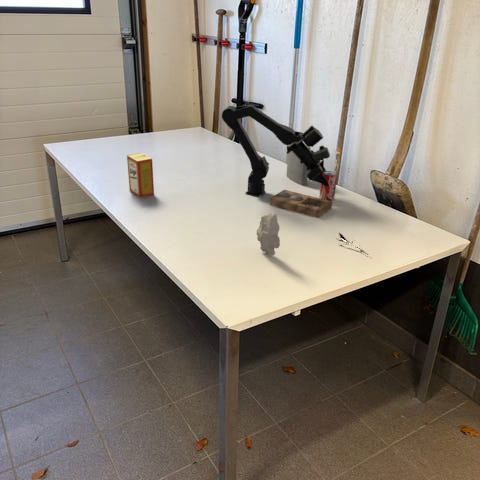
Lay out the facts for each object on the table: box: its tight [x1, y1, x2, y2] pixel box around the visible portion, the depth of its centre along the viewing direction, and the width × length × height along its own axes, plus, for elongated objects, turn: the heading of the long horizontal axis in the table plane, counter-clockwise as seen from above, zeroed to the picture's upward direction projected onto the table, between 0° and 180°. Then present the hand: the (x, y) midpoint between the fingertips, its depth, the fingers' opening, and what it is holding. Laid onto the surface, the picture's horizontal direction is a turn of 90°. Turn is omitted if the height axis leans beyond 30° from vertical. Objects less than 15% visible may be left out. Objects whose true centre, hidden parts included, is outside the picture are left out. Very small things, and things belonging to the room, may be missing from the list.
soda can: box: [318, 170, 338, 202], centre depth 200 cm, size 6×6×12 cm
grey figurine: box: [256, 212, 281, 256], centre depth 155 cm, size 11×4×15 cm, turn 38°
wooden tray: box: [269, 189, 333, 219], centre depth 195 cm, size 22×12×3 cm, turn 57°
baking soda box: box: [126, 153, 155, 198], centre depth 201 cm, size 10×6×16 cm
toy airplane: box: [338, 232, 369, 255], centre depth 165 cm, size 8×21×2 cm, turn 29°
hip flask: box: [285, 142, 311, 187], centre depth 220 cm, size 16×4×20 cm, turn 24°
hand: (328, 181), depth 199 cm, fingers open, 9 cm apart
